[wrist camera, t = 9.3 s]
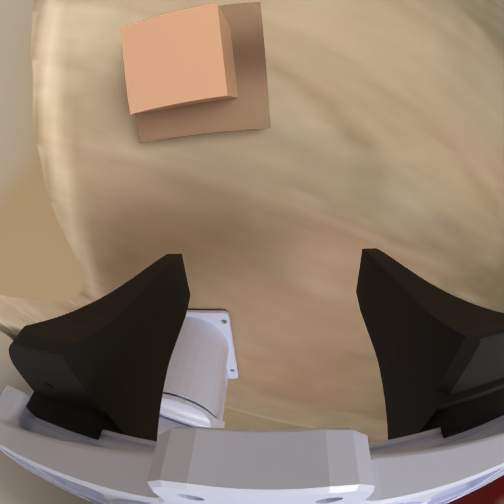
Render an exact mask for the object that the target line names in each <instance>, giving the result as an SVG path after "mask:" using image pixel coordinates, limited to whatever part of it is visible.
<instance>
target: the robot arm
mask: <svg viewBox="0 0 504 504" xmlns="http://www.w3.org/2000/svg"><path fill="white" fill-rule="evenodd" d="M356 292H357V297H358V302H359V306H360V310H361V313H362V316H363V319H364V322H365V324H366V327H367V330H368V333H369V335H370V338H371V341H372V344H373V347H374V349H375V352H376V356H377V359H378V363H379V367H380V372H381V378H382V383H383V390H384V396H385V404H386V413H387V424H388V440H385V441H380V442H374V443H368V439H367V435H365V434H363V433H360V432H358V431H355V430H352V429H350V428H330V427H322V428H308V429H283V430H250V429H226V428H224V426H225V422H224V421H222V420H223V414H224V407H225V400H226V393H227V386H228V379H229V378H231V379H235V378H237V377H238V368H237V362H236V356H235V350H234V343H233V336H232V330H231V323H230V316H229V313H228V312H227V311H223V310H187V309H188V304H189V299H190V292H189V287H188V282H187V278H186V273H185V268H184V263H183V258H182V254H167V255H165V256H164V257H162V258H160V259H159V260H157V261H156V262H155V263H153V264H152V265H150V266H149V267H148V268H146V269H145V270H144V271H142V272H141V273H139V274H138V275H137V276H135V277H134V278H132V279H131V280H129V281H128V282H126V283H125V284H123V285H122V286H120V287H119V288H118V289H116V290H114V291H113V292H111V293H109V294H108V295H106V296H104V297H102V298H100V299H99V300H97V301H95V302H93V303H91V304H88V305H86V306H84V307H82V308H80V309H78V310H75V311H73V312H70V313H68V314H65V315H62V316H59V317H57V318H54V319H50V320H47V321H43V322H39V323H35V324H32V325H27V326H25V327H24V328H23V329H22V330H21V332H20V333H19V334H18V335H17V337H16V338H15V339H14V341H13V342H12V344H11V345H10V347H9V354H10V358H11V360H12V362H13V364H14V366H15V367H16V369H17V370H18V371H19V373H20V374H21V375H22V377H23V378H24V379H25V381H26V382H27V383H28V384H29V386H30V387H31V388H32V389H33V390H34V393H33V395H32V397H30V396H28V395H27V394H25V393H24V392H22V391H19V390H17V389H15V388H12V387H11V386H6V388H5V389H4V391H3V393H2V395H1V396H0V450H1V451H3V452H4V453H5V454H7V455H8V456H9V457H10V458H12V459H13V460H14V461H16V462H17V463H18V464H20V465H21V466H23V467H24V468H26V469H28V470H29V471H31V472H33V473H34V474H36V475H38V476H40V477H42V478H43V479H45V480H47V481H49V482H51V483H53V484H55V485H57V486H59V487H60V488H62V489H64V490H66V491H69V492H71V493H73V494H75V495H77V496H79V497H81V498H84V499H86V500H88V501H91V502H93V503H96V504H446V503H448V502H451V501H453V500H455V499H458V498H460V497H462V496H464V495H466V494H468V493H470V492H472V491H474V490H476V489H478V488H480V487H482V486H484V485H486V484H488V483H490V482H492V481H493V480H495V479H497V478H499V477H501V476H502V475H504V313H501V312H496V311H493V310H490V309H486V308H483V307H480V306H477V305H475V304H472V303H469V302H467V301H465V300H462V299H460V298H457V297H455V296H453V295H451V294H449V293H447V292H445V291H443V290H441V289H439V288H437V287H436V286H434V285H432V284H430V283H429V282H427V281H425V280H424V279H422V278H421V277H419V276H417V275H416V274H414V273H413V272H411V271H410V270H408V269H407V268H406V267H404V266H403V265H401V264H400V263H398V262H397V261H395V260H394V259H393V258H391V257H390V256H388V255H387V254H385V253H384V252H382V251H380V250H378V249H362V256H361V263H360V270H359V277H358V283H357V290H356ZM223 319H224V320H226V321H223Z"/></svg>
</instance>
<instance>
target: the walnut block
mask: <svg viewBox="0 0 504 504" xmlns="http://www.w3.org/2000/svg"><path fill="white" fill-rule="evenodd" d="M219 7H220V9H221V11H222V13H223V14H224V16H225V18H226V20H227V22H228V24H229V26H230V29H231V38H232V47H233V56H234V65H235V73H236V82H237V91H238V98H231V99H224V100H216V101H209V102H203V103H197V104H191V105H185V106H180V107H175V108H170V109H165V110H158V111H150V112H142V113H136V121H137V129H138V136H139V143H143V142H149V141H154V140H161V139H167V138H174V137H181V136H188V135H196V134H204V133H214V132H224V131H235V130H248V129H265V128H270V115H269V100H268V87H267V73H266V61H265V49H264V37H263V26H262V15H261V5H260V2H253V3H241V4H231V5H223V6H219Z"/></svg>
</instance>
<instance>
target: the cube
mask: <svg viewBox="0 0 504 504" xmlns="http://www.w3.org/2000/svg"><path fill="white" fill-rule="evenodd" d="M121 37H122V50H123V61H124V70H125V79H126V88H127V95H128V103H129V110H130V114H135V113H142V112H150V111H158V110H165V109H170V108H175V107H180V106H185V105H191V104H197V103H203V102H209V101H216V100H224V99H231V98H238V91H237V82H236V73H235V65H234V56H233V47H232V38H231V29H230V26H229V24H228V22H227V20H226V18H225V16H224V14H223V13H222V11H221V9H220V7H219V5H218V4H217V3H215V4H209V5H203V6H198V7H193V8H188V9H184V10H180V11H175V12H171V13H167V14H164V15H160V16H156V17H153V18H149V19H146V20H143V21H140V22H137V23H134V24H131V25H128V26H125V27H122V28H121Z"/></svg>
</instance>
